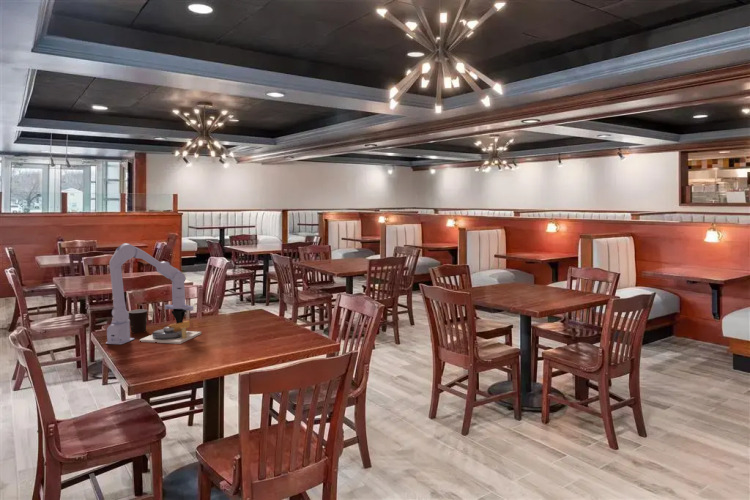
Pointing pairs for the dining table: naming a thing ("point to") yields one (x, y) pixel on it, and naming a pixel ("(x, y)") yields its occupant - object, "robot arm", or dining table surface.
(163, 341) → the base board
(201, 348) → the dining table surface
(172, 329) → the dial
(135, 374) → the dining table surface
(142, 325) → the coffee mug
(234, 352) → the dining table surface
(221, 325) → the dining table surface
